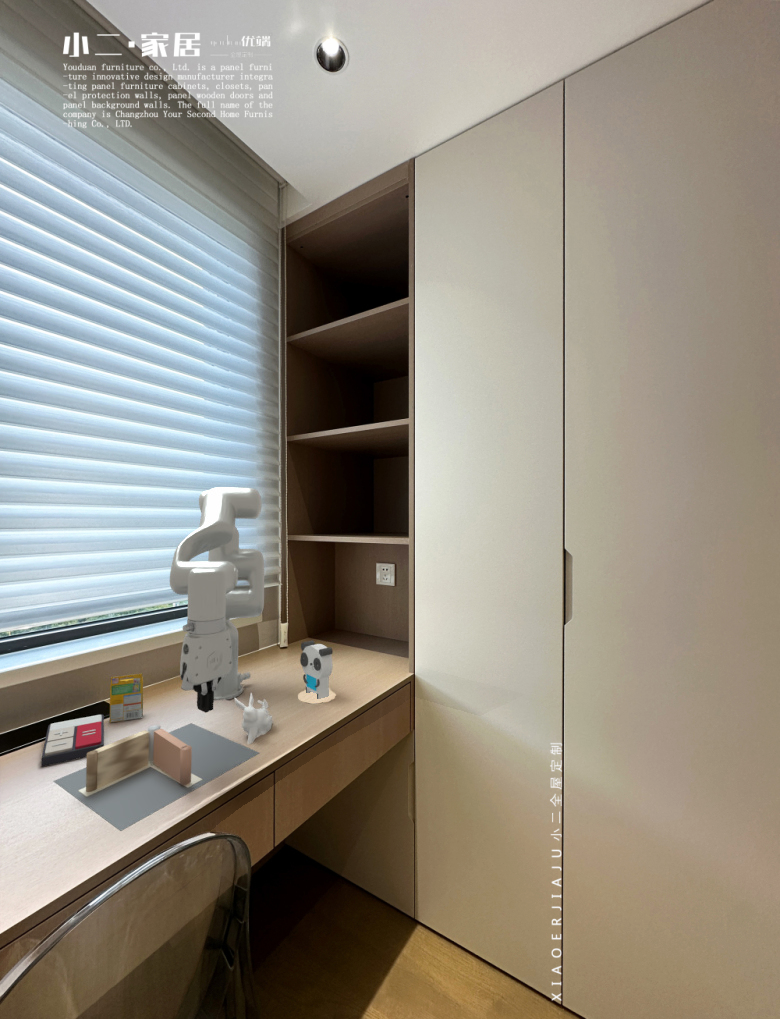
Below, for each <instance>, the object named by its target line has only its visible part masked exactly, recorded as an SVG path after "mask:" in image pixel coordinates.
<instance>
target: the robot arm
mask: <svg viewBox="0 0 780 1019" xmlns="http://www.w3.org/2000/svg"><path fill="white" fill-rule="evenodd" d="M198 496H199V497H198V506H199V510H200V514H201V515H200V522H199V527H198V528H196V529H195V530H193V531H192V532H190V533H189V534H188V535H186V537H184V539H183V540H181V542H180V543H178V546H177V547H176V548H175V551H174V553H173V558H172V562H171V567H170V573H169V586H170V589H171V591H172V592H174V593H175V594H177V595H182V596H183V595H185V596H187V620H186V624H183V626H182V631H183V632H185V634H184V637H183V640H182V646H181V651H180V652H181V655H180V662H179V663H180V664H179V667H180V668H179V676H180V680H181V681H182V683H181V690H184V691H194V692H196V696H197V697H196V706H197V710H199V711H201V712H203V713H209V712H210V711H211V712H212V711H214V701H221V700H222V701H223V700H225V701H226V700H227V701H228V700H231V699H234V698H238V697H239V696H240V695H241V694H242V693H243V691H244V687H243V685H242V684H241V683H243V681H245V680H248V679H250V678H251V673H250V672H249V671H247V672H245V673H242V672H239V671H238V670H239V631H238V628H237V627H236V625H235V624H234V622H232V621H231V619H243V618H257V617H259V616H261V614H263V610H264V606H265V559H264V555H263V553H262V552H261V551H260V550H259V549H255V548H240V532H239V530H238V528H237V527H236V519H239V520H241V519H248V520H249V519H250V520H252V519H253V520H256V519H258V518H259V516H260V514H261V513H262V512H261V511H262V507H263V505H262V504H263V503H262V502H263V501H262V497H261V494H260V492H259V491H258V490H257V489H255V488H252V487H240V486H239V487H235V486H234V487H233V486H218V487H217V486H216V487H213V488H211V489H207V490H204V491H202V492H201V493H200V494H199V495H198ZM206 552H208V560H192V559H194V558H195V557H198V556H199V555H202V554H205V553H206ZM239 581H243V582H244V581H245V582H247V583H248V584H247V585H246V584H243V585H237V584H238V582H239Z"/></svg>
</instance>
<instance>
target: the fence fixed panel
mask: <svg viewBox="0 0 780 1019" xmlns="http://www.w3.org/2000/svg"><path fill="white" fill-rule="evenodd" d="M148 758H149V732H148V730H145V729H143V730H141V731H139V732H137V733H134V734H131V735H129V736H127V737H124V738H121V739H119V740H116V741H114V742H111V743H110V744H109V743H108V744H107V745H106V744H105V745H104V746H103V747H101V748H98V749H96V750H94V751H90V752H88V753H87V757H86V761H85V762H86V763H85V764H86V767H85V768H86V792H92V791H94V790H96V789H98V788H100V787H102V786H104V785H107V784H109V783H111V782H113V781H115V780H117V779H120V778H122V777H124V776H126V775H128V774H130V773H132V772H135V771H137V770H139V769H141V768H143V767H145V766H147V765H148Z"/></svg>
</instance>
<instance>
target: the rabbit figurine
mask: <svg viewBox="0 0 780 1019" xmlns="http://www.w3.org/2000/svg"><path fill="white" fill-rule="evenodd" d="M233 699H234V704H235V706H236V707H238V708H239V709H241V710H243V714H242V719H243V720H242V722H241V728H242V730H243V731H244V732H246V733H247V734H246V735H247V742H246V743H247V744H248V745H250V744H252V743H254V741H255V739H256V738H259V737H260V736H263V735H265V734H266V733H268V732H269V731H270V730H271V729H272V725H273V722H274V721H273V716H272V715H270V713H269V710H268V708H269V704H268V702H267V700H266V698H263V700H259V699H258V700H257V703H258V704H260V705H261V707H260V708H255V707H254V702H255V699H254V696H253V693H252V692H250V696H249V700H248V706H246V705H245V704H244V703H243V702H242V701H240V700H238V698H237V697H235V698H233Z"/></svg>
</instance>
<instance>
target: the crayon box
mask: <svg viewBox="0 0 780 1019" xmlns="http://www.w3.org/2000/svg"><path fill="white" fill-rule="evenodd" d="M109 692H110V693H109V723H110V724H112V723H111V722H113V723H117V722H124V721H130V720H137V719H142V718H143V714H144V707H143V706H144V677H143V673H142V672H141V673H134V674H126V675H125V674H124V675H118V676H117V675H116V676H111V677H110V685H109Z"/></svg>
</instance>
